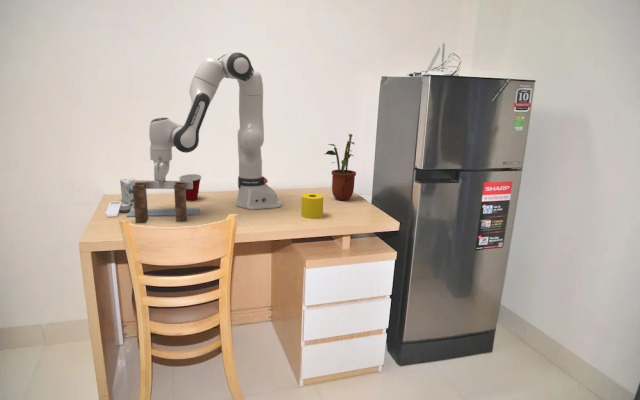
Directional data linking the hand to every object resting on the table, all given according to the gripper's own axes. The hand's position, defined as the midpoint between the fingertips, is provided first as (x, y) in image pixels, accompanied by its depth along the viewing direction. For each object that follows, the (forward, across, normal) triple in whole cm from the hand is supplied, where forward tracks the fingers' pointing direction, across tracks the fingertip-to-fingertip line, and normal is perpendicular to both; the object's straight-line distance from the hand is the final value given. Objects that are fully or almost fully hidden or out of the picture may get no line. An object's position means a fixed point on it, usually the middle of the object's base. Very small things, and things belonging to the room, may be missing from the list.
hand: (162, 186), depth 185 cm
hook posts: (+12, -10, -1) cm, 16 cm away
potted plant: (+11, +17, -87) cm, 89 cm away
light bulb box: (+13, +19, +16) cm, 28 cm away
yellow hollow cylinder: (+11, -9, -67) cm, 68 cm away
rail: (+1, 0, 0) cm, 1 cm away
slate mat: (+12, 0, -1) cm, 12 cm away
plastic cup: (+12, +22, -11) cm, 27 cm away
